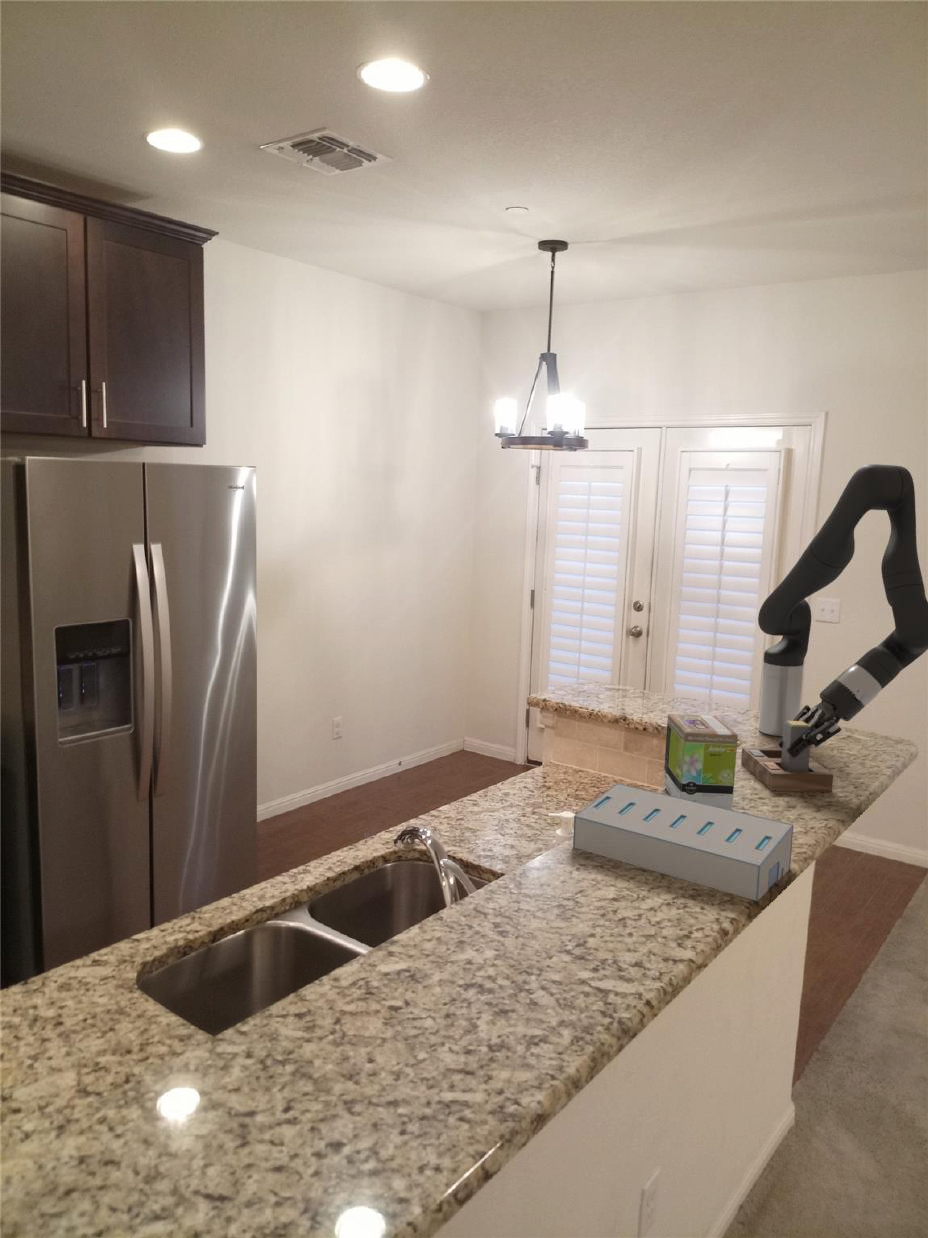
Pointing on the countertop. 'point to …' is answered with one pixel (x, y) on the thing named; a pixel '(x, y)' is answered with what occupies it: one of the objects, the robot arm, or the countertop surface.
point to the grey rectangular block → (790, 735)
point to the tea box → (700, 759)
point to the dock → (785, 772)
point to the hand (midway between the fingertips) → (785, 750)
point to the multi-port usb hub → (686, 839)
